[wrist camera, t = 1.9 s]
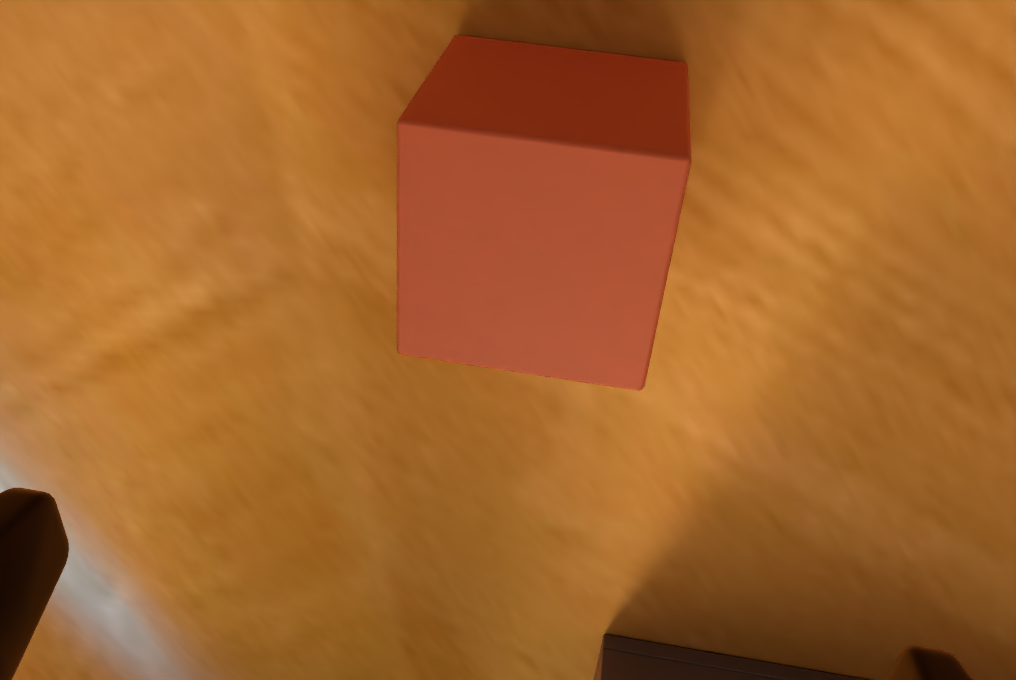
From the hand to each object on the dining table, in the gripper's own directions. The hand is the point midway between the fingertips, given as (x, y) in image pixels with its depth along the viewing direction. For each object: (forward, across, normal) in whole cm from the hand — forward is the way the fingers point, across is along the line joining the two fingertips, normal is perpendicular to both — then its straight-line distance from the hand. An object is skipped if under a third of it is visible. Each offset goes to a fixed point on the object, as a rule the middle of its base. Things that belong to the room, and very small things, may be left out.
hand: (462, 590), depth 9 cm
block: (+11, 0, 0) cm, 11 cm away
